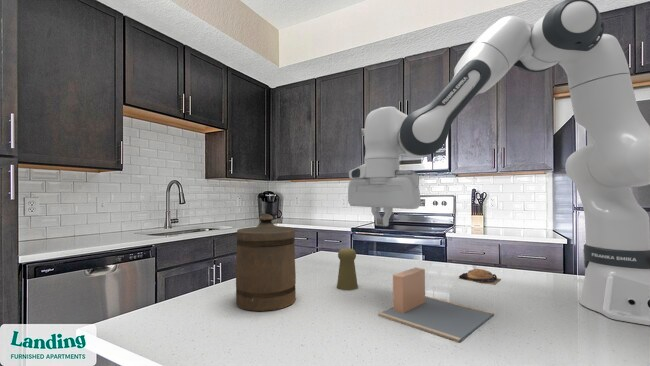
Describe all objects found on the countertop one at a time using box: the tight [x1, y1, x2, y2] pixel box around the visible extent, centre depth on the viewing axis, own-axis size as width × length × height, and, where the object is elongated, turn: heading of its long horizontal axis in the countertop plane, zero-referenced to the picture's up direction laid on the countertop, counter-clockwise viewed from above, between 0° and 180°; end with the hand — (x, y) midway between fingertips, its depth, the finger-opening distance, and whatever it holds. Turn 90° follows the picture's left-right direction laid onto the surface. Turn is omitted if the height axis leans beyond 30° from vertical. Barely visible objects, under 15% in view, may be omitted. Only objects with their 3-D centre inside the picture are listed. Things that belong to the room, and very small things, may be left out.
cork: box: [336, 247, 359, 291], centre depth 92 cm, size 6×6×11 cm
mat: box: [377, 295, 495, 343], centre depth 71 cm, size 18×18×1 cm
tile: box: [392, 267, 426, 313], centre depth 76 cm, size 2×10×8 cm, turn 135°
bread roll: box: [458, 268, 502, 286], centre depth 99 cm, size 11×9×4 cm
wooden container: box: [235, 213, 297, 312], centre depth 81 cm, size 15×15×22 cm
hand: (381, 225), depth 81 cm, fingers closed
